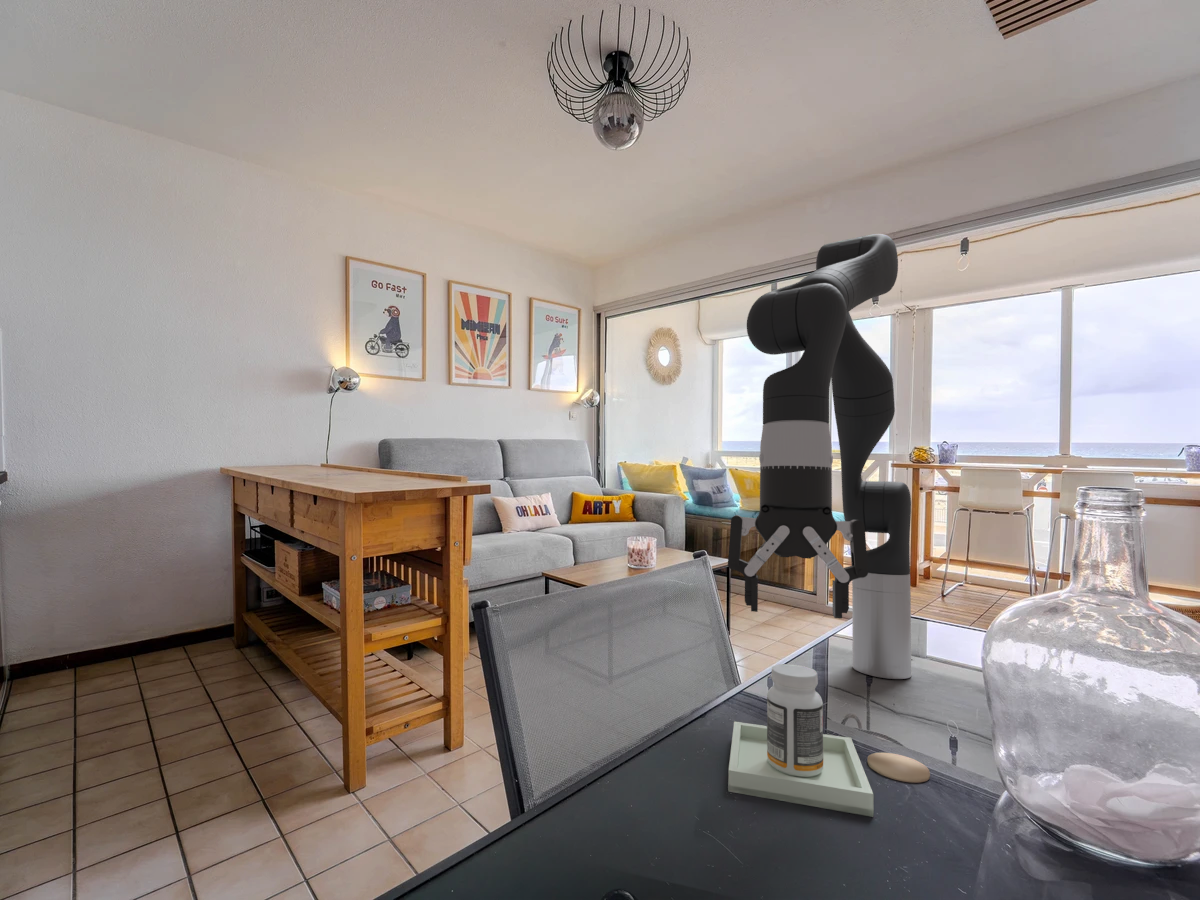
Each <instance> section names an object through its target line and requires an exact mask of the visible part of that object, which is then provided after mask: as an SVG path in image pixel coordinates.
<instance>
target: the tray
mask: <svg viewBox="0 0 1200 900" xmlns="http://www.w3.org/2000/svg"><path fill="white" fill-rule="evenodd" d="M731 737H732V738H731V747H730V755H729V763H728V775H727V776H728V780H727V781H728V782H727V784H728V787H727V788H728V789H727V790H728V791H727V792H731V793H734V794H735V793H736V794H740V795H747V796H753V797H758V798H763V799H769V800H776V801H780V802H786V803H791V804H792V803H793V804H797V805H804V806H810V807H815V808H819V809H820V808H821V809H827V810H831V811H838V812H842V813H848V814H849V813H850V814H853V815H854V814H855V815H859V816H865V817H872V818H873V817H874V811H875V810H874V807H875V806H874V791H873V790H872V787H871V785H870V782H869V779H868V777H867V775H866V773H865V769H864V767H863V764H862V761H861V760H860V757H859V754H858V753H857V752H858V751H857V749H856V747H855V745H854V742H853V740H852V737H848V736H847V737H846V736H840V735H839V736H838V735H833V734H826V733H825V734H824V733H823V770H822V771H821V772H820V773H819V774H818V775H815V776H811V777H800V776H793V775H789V774H786V773H783V772H781V771H779V770H777V769H775V768H774V767H773V766H772V765H771V764H770V763H769V761H768V757H767V725H761V724H755V723H747V722H741V721H733V730H732V736H731Z"/></svg>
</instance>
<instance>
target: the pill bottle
mask: <svg viewBox="0 0 1200 900" xmlns="http://www.w3.org/2000/svg"><path fill="white" fill-rule="evenodd" d="M770 676H771V680H772V682H773V685H772V686H771V687H770V688H769V689H768V691H767V694H766V705H767V706H766V707H767V710H766V712H767V713H766V717H767V718H766V719H767V720H766V721H767V724H766V726H767V757H768V761H769V763H770V764H771V765H772V766H773V767H774V768H775V769H777V770H779V771H781V772H783V773H786V774H789V775H793V776H800V777H811V776H815V775H818V774H819V773H820V772H821V771H822V770H823V734H824V706H823V705H824V704H823V700H822V696H821V695H820V694H819V692H817V691H816V688H817V686H818V683H819V679H818V678H819V677H818V672H817V671H816V670H815V669H813V668H810V667H807V666H804V665H799V664H793V663H792V664H791V663H790V664H788V663H785V664H775V665H772V666H771V675H770Z"/></svg>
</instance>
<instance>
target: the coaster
mask: <svg viewBox="0 0 1200 900" xmlns="http://www.w3.org/2000/svg"><path fill="white" fill-rule="evenodd" d="M867 765H868V767H869V768H870V769H871V770H873V772H876V773H877V774H879V775H881V776H883V777H886V778H888V779H892V780H895V781H899V782H904V783H910V784H911V783H913V784H914V783H917V784H918V783H924V782H927V781H928V780H930V778H931V772H930V769H929V768H928V767H927V766H926V765H925V764H923V763H922V762H920V761H918V760H916V759H914V758H912V757H908V756H906V755H901V754H897V753H891V752H875V753H870V754H869V755H868V756H867Z"/></svg>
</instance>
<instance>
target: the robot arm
mask: <svg viewBox="0 0 1200 900" xmlns="http://www.w3.org/2000/svg"><path fill="white" fill-rule="evenodd" d="M815 259H816V261H815V262H816V263H815V270H814V271H813V272H811V273H810V274H807V275H806V276H805V277H803V278H802V279H801V280H800V281H798V282H795V283H793V284H790V285H785V286H782V287H779V288H777V289H774V290H771V291H769V292H767V293H764V294H762V295H761V296H759V297H758V298H757V299H756V300H755V301H754V303H753V304H752V305H751V307H750V309H749V312H748V315H747V317H746V333H747V335H748V336H747V337H748V339H749V341H750V343H751V344H752V345H753V346H754V347H755V348H756V350H757V351H760V352H761V353H763V354H766V355H772V356H773V355H783V354H790V353H797V352H803V353H802V354H801V357H800V358H799V360H798V361H796V363H795V364H793V365H791V366H789V367H786V368H784V369H782V370H778V371H776V372H773V373H772V374H769V376H767V377H766V378H765V381H764V382H763V388H762V430H761V431H762V432H761V437H760V438H761V439H760V446H759V447H760V449H759V471H760V472H759V511H758V515H757V517H749V516H747V517H746V516H740V515H739V514H735V515H733V516H732V517H731V519H730V528H729V540H728V542H729V543H728V554H727V555H728V557H727V566H728V568H729V569H731V570H733V571H737V572H738V573H740V574H742V576H743V577H744V603H745V606H750V612H753V613H755V612H756V613H757V612H758V613H759V611H758V610H759V609H758V608H759V606H758V605H759V602H758V600H759V597H758V595H759V576H758V575H757V572H758V571H759V570H760V569H761V568H762V566H763V565H764V564H765V563H766V562H767V561H768V559H769V558H770V557H771V556H772V555H773V554H775V555H777V556H779V557H780V558H791V557H799V558H801V559H810V560H811V559H812V558H815V557H816V556H818V557H819V559H820V560H821V561H822V562H823V563H824V564H825V566H826V567H827V569H829V571H830V572H831V573H832V575H833V576H834V580H832V616H833V618H834V619H841V620H842V619H843V614H848V611H849V609H850V602H849V601H850V600H849V599H850V595H849V593H850V591H849V590H850V583H851V585H852V587H851V588H852V590H851V594H852V600H851V601H852V603H851V604H852V607H851V608H852V611H851V612H852V613H851V614H852V618H851V619H852V645H851V646H852V651H851V652H852V668H853V669H854V670H855V671H857V672H859V673H861V674H865V675H867V676H868V675H869V676H872V677H875V678H876V677H877V678H881V679H882V678H883V679H890V680H891V679H892V680H903V679H904V680H905V679H910V678H911V677H912V620H911V619H912V611H911V609H912V602H911V598H912V597H911V596H912V595H911V562H910V560H911V559H910V558H911V556H910V553H911V552H910V551H911V550H910V548H911V547H910V545H911V544H910V539H911V537H910V535H911V517H912V499H911V496H912V495H911V491H910V489H909V487H908V485H907V484H906V483H905V482H902V481H886V480H885V481H881V480H880V481H876V480H875V481H871V480H869V481H868V480H865V481H864V480H863V478H862V474H863V473H862V472H863V469H864V467H865V465H866V463H867V461H868V459H869V457H870V455H871V453H872V452H873V450H874V449H875V447H876V446H877V445H878V443H879V442H880V440H881V439H882V437H883V436H884V435H885V433H886V432H887V430H888V428H889V427H890V425H891V423H892V421H893V419H894V416H895V411H896V409H895V405H896V404H895V394H894V381H893V380H894V379H893V375H892V373H891V371H890V369H889V367H888V366H887V364H886V363H885V362H884V361H883V359H882V357H880V356H879V354H878V353H877V352H876V351H875V350H874V349H873V348H872V347H871V346H870V344H869V343H868V342H867V341H866V340H865V339H864V338H863V336H862V335H861V333H860V332H859V330H858V328H856V325H855V324H854V321H853V319H852V315H851V313H850V311H852V310H854V309H855V308H856V307H858V306H859V305H862V304H863V303H865V302H867V301H869V300H871V299H873V298H876V297H879V296H880V297H881V296H883V295H885V294H887V293H889V292H890V291H891V290H892V289H893V287H894V286H895V284H896V281H897V277H898V273H899V272H898V271H899V258H898V250H897V247H896V243H895V241H894V240H893V238H892V237H890V236H889V235H887V234H885V233H874V234H869V235H863V236H862V235H861V236H859V237H852V238H849V239H843V240H839V241H833V242H829V243H826V244H823V245H822V246H821V247H820V248H819V250H818V251H817V255H816V258H815ZM830 385H831V386H830ZM830 387H831V391H832V392H831V393H832V400H833V408H834V409H833V411H834V416H835V417H834V418H835V423H836V429H837V437H838V444H839V445H838V446H839V452H840V454H839V455H840V467H841V468H840V469H841V473H840V474H841V495H842V496H841V497H842V498H841V499H842V510H843V511H842V512H843V517H844V521H843V520H841V521H840V520H839V521H837V520H836V519H835V517H834V515H833V480H832V479H833V476H832V475H833V473H832V472H833V462H834V457H833V454H832V453H833V449H832V447H833V446H832V437H831V432H830V424H829V423H830ZM753 527H755V529H756V530H757V531H758V533H759V534H760V536H761V537H762V539H763V540H764V542H763V544H762V545H761V546H760V547H759V548H758V549H757V551H756V552H755V554H754V555H753V556H752V557H751V558H750V560H749V561H745V560H744V559H741V547H742V537H745V536H747V535H749V533H750V530H751V528H753ZM837 531H839V532H840V533H841V534H842V538H843V539H845V540H846V541H847V542H848V541H849V547H850V561H851V565H850V566H846V567H843V565H842V564H841V563H840V562H839V560H838V559H837V558H836V556H835V554H834V553H833V552H832V551H831V549H830V548H829V546H827V544H828V543H829V542H830V540H831V539H832V537H834V535H835V534H836V533H837ZM866 533H875V534H888V536H889V537H888V539H887V540H886V541H885V542H884V543H883V544H881V545H879V546H877V547H874V548H871V549H868V550H867V540H866V538H867V537H866Z"/></svg>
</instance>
